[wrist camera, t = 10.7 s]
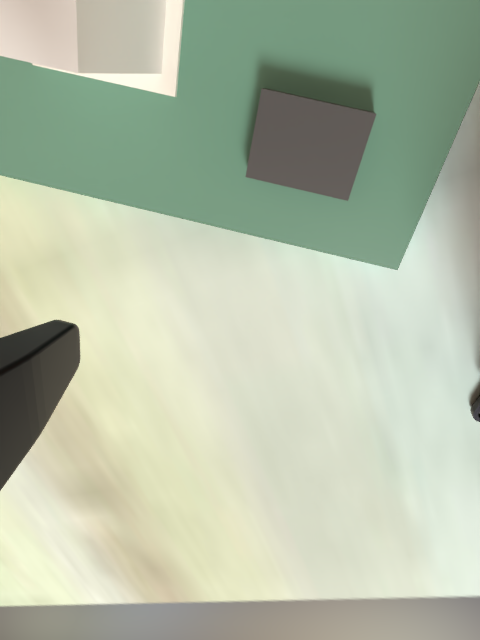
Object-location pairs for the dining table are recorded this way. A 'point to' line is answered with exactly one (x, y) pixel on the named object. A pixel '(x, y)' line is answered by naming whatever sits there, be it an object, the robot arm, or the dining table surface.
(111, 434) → the dining table surface
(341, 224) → the board
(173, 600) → the dining table surface
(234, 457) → the dining table surface
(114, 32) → the block
